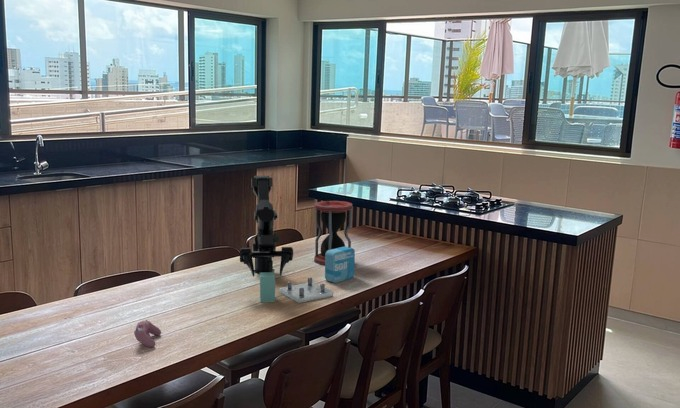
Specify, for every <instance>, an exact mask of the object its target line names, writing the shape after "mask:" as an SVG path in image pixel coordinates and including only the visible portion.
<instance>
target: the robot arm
mask: <svg viewBox="0 0 680 408" xmlns="http://www.w3.org/2000/svg"><path fill="white" fill-rule="evenodd" d="M250 180H251V184H250V185H251V188H253V190H252V192H253V194H254V195H255V197H256V198H257V203H256V204H255V210H254V211H253V213H254V215H253V216H254V217H253V218H254V219H253V220H254V221H256V224H257V228H256V229H257V233H256V235H255V237H254V241H253V242H252V248H251V247H241V248H240V249H239V262H240V263H243V264H244V265H246V266H247V268H249V271H250V273H251V275H252V277H253V278H254V277H255V273H258V274H260V273H266V272H274V271H275V268H274V265H273V262H274V261H273V258H275V257H277V258H279V257H280V265H279V276H280V277H281V276H282V274H283V271H284V268H285V266H286V264H288V263H289V262H292V261H293V258H294V248H293V247H292V246H281V250H276V249H277V246H276V244H279V243H280V236H279V235H280V234H279V232H278V233H277V232H276V233H274V224H275V221H276V219H278V213H277V212H276V210H274V205H273V204H272V203H271V202H270V193H271V190H272V187H273V184H274V183H273V181H274V180H273V177H270V175H254V177H251V179H250ZM253 259H254V261H253Z"/></svg>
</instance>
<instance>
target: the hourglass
mask: <svg viewBox="0 0 680 408" xmlns="http://www.w3.org/2000/svg"><path fill="white" fill-rule="evenodd" d="M314 209H315V225H316V228H317V229H318V235H317V236H316V238H315V255H314V259H313V261H314V262H315V263H316V264H318V265H323V266H325V254H326V252H327V251H328V250H332V249H336V248H340V247H344V246H345V247H346V244H345V242H344V240H343V239H342V238H341V236H339V234H338V231H339V229H341V228H342V226H344V224H345V222H346V220H347V219H346V218H347V211H348V225H347V227H346V228H345V229H344V233H343V234H344V237H345V239H346V240H347V245H348V246H347V247H349V248H352V241H351V238H350V237H349V235H348V233H349V229H350V228H351V226H352V209H353V203H352V202H350V201H344V200H341V201H340V200H323V201H316V202H315V203H314ZM319 211H320V220H321V221H320V222H321V223H322V224H323V226H324V227H325V228H326V229H327V230H328V233H329V234H328V235H326V237H325V238H324V239H323V240H322V242H321V244H320V253H319V239H320V238H321V237H322V235H323V229H322V227H321V226H320V224H319Z"/></svg>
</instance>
